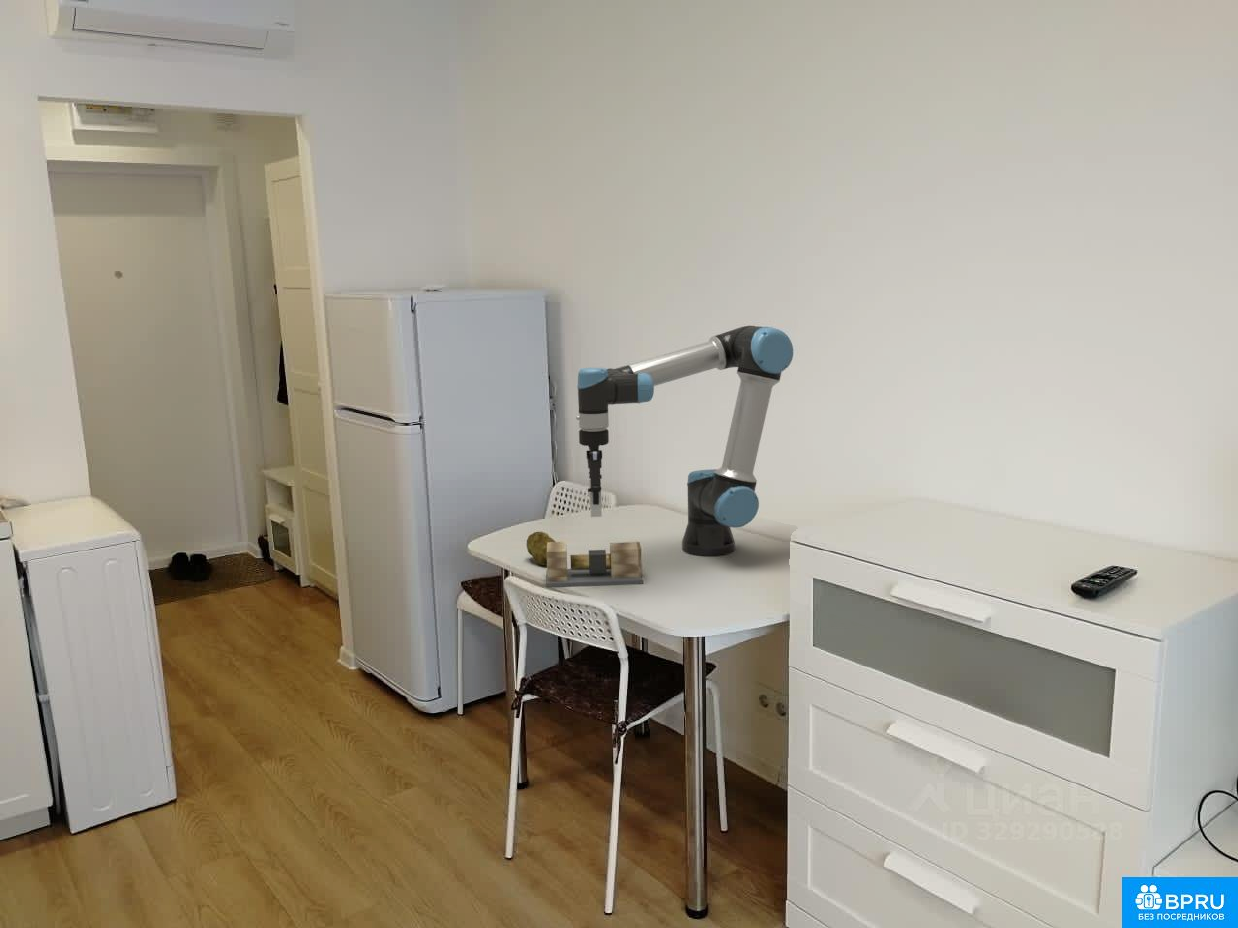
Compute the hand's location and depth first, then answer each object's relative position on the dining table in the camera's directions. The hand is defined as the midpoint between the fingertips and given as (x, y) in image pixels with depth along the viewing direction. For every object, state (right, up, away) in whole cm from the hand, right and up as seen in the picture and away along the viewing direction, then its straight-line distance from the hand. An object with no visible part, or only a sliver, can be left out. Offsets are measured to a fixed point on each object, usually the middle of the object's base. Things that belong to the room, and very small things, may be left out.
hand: (595, 510), depth 252 cm
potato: (-15, -16, +19) cm, 28 cm away
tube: (+2, -16, +3) cm, 16 cm away
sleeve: (+8, -17, +4) cm, 19 cm away
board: (0, -18, +3) cm, 18 cm away
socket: (-10, -18, +3) cm, 21 cm away
